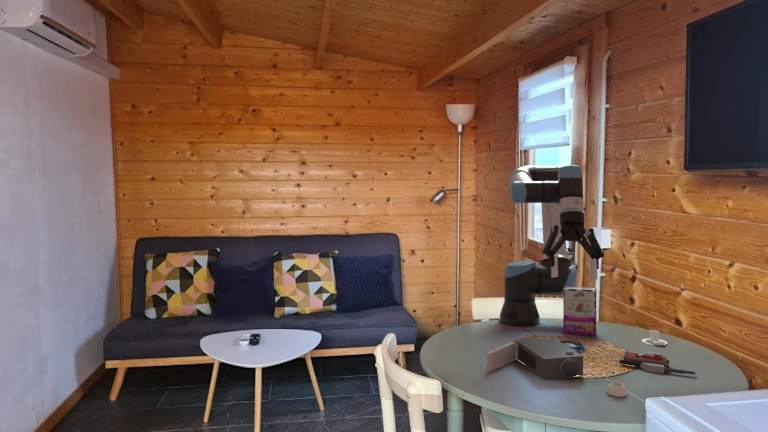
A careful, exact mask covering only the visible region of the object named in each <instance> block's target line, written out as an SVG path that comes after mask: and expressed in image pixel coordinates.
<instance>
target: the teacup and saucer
mask: <svg viewBox="0 0 768 432" xmlns="http://www.w3.org/2000/svg"><path fill="white" fill-rule="evenodd" d="M660 334H661V333H660V331H659V330H656V329H650V330H649V338H643V339H641V342H642V343H644V344H645V345H652V346H666V344H667V345H668V342H667V341H666V340H663V339H660ZM648 340H649V341H650V343H649V342H647V341H648Z"/></svg>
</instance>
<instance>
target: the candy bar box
mask: <svg viewBox="0 0 768 432" xmlns="http://www.w3.org/2000/svg"><path fill="white" fill-rule="evenodd" d="M562 297H563V303H562V304H563V313H562V314H563V316H562V318H563V321H562V322H563V324H562V325H563V327H562V329H563V331H562V332H563V334H568V335H580V336H589V337H590V336H591V337H592V336H593V337H596V335H597V288H596V287H581V286H580V287H579V286H575V287H565V288H564V289H563V296H562Z"/></svg>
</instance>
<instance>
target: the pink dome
mask: <svg viewBox="0 0 768 432" xmlns="http://www.w3.org/2000/svg"><path fill="white" fill-rule="evenodd" d="M605 391H606V394H607V395H609V396H612V397H617V398H623V397H626V396H627V395H628V391H627V389H626V388H625V385H624V383H623V382H621V381H616V380H613V381H610V384H609V385H608V387H607V388H606V390H605Z"/></svg>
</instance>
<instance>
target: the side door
mask: <svg viewBox="0 0 768 432" xmlns="http://www.w3.org/2000/svg"><path fill="white" fill-rule="evenodd" d="M515 359H516V360H517V340H514V341H512V342H510V343H507V344H505V345H502V346H500V347H496V348H495V349H493V350H490V351H488V352H487V353H486V372H490V373H491V372H493V371H495V370H498V369H500V368H502V367H504V366H506V365H508V364H510V363H513V362H514V361H516V360H515Z"/></svg>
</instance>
